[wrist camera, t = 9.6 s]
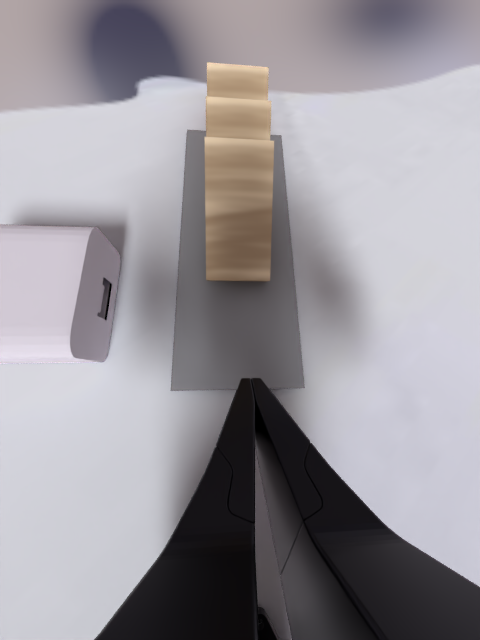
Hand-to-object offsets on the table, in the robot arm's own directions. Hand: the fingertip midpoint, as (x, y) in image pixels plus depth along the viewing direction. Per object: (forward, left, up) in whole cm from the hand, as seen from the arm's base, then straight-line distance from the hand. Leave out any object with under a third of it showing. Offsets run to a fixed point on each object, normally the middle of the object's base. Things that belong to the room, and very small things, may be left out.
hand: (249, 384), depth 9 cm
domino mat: (+11, -6, -8) cm, 15 cm away
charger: (+14, +12, -8) cm, 20 cm away
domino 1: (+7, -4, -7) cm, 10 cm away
